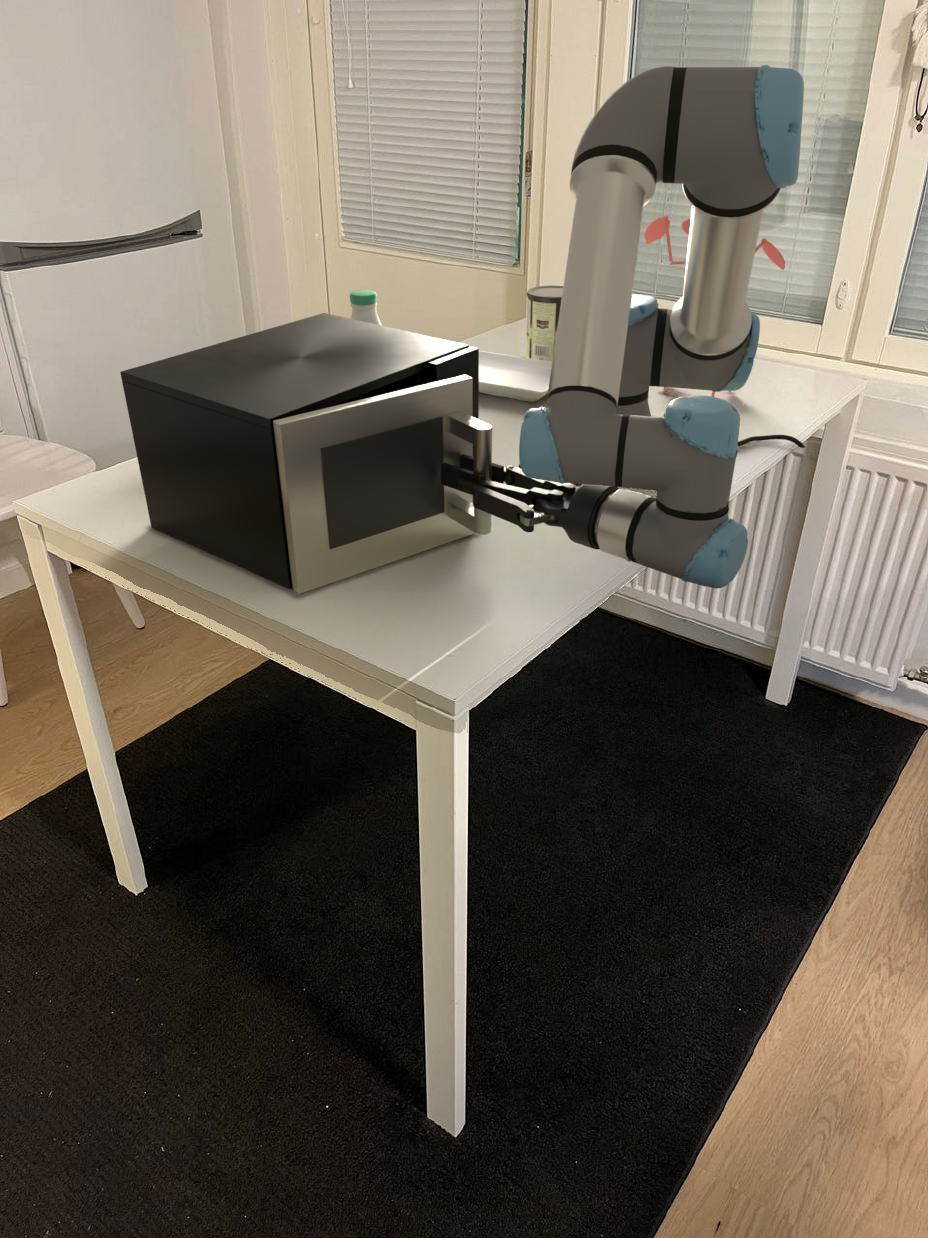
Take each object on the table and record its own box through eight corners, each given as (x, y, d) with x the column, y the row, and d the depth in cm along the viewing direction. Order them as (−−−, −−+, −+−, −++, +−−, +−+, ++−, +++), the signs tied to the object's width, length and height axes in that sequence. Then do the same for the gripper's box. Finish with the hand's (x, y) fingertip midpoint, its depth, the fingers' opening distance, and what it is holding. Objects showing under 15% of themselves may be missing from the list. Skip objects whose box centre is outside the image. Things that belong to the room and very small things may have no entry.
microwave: (482, 497, 140) (483, 347, 128) (303, 596, 116) (284, 423, 104) (335, 449, 156) (324, 312, 144) (151, 527, 132) (119, 371, 120)
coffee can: (572, 354, 199) (576, 284, 192) (577, 369, 191) (581, 297, 183) (523, 354, 200) (525, 284, 192) (525, 369, 191) (527, 297, 183)
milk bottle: (341, 409, 172) (332, 295, 161) (360, 395, 178) (353, 285, 167) (379, 414, 169) (373, 299, 159) (398, 400, 176) (393, 289, 165)
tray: (542, 410, 171) (543, 391, 169) (395, 383, 184) (394, 365, 182) (580, 383, 183) (581, 365, 181) (440, 360, 196) (440, 343, 195)
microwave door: (505, 554, 125) (508, 392, 113) (327, 619, 111) (310, 443, 100) (466, 530, 130) (465, 374, 119) (292, 589, 117) (272, 420, 106)
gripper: (568, 575, 105) (411, 517, 118) (643, 524, 116) (491, 476, 128) (572, 513, 101) (408, 460, 114) (649, 467, 112) (491, 423, 124)
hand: (452, 469), depth 121 cm, fingers open, 3 cm apart
